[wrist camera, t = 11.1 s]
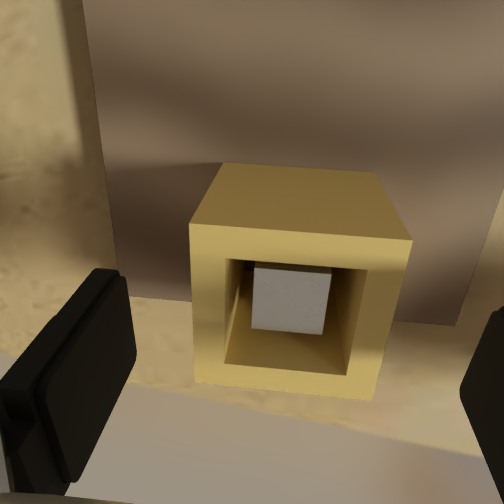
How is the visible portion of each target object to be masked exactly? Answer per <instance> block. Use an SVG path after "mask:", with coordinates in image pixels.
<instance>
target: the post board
mask: <svg viewBox="0 0 504 504" xmlns="http://www.w3.org/2000/svg"><path fill="white" fill-rule="evenodd" d="M82 2H83V10H84V17H85V24H86V32H87V39H88V47H89V54H90V62H91V69H92V77H93V84H94V92H95V99H96V106H97V114H98V121H99V129H100V136H101V144H102V151H103V159H104V166H105V173H106V181H107V188H108V196H109V203H110V211H111V218H112V226H113V233H114V241H115V248H116V255H117V263H118V270H119V273H120V276H124V277H125V278H126V281H127V287H128V294H129V296H133V297H143V298H154V299H165V300H176V301H187V302H192V291H191V264H190V238H189V222H190V221H191V219H192V217H193V215H194V214H195V212H196V210H197V208H198V207H199V205H200V203H201V201H202V199H203V198H204V196H205V194H206V192H207V191H208V189H209V187H210V185H211V184H212V182H213V180H214V178H215V177H216V175H217V173H218V171H219V169H220V168H221V166H222V164H223V162H225V163H240V164H255V165H270V166H285V167H300V168H315V169H330V170H345V171H360V172H375V174H376V176H377V178H378V179H379V181H380V183H381V185H382V187H383V188H384V190H385V192H386V194H387V195H388V197H389V199H390V201H391V202H392V204H393V206H394V208H395V210H396V211H397V213H398V215H399V217H400V218H401V220H402V222H403V224H404V226H405V227H406V229H407V231H408V233H409V234H410V236H411V238H412V240H413V243H412V246H411V250H410V254H409V258H408V262H407V266H406V270H405V274H404V278H403V282H402V285H401V289H400V293H399V297H398V301H397V305H396V309H395V313H394V317H393V320H394V321H405V322H416V323H427V324H438V325H449V326H455V324H456V321H457V318H458V315H459V313H460V310H461V307H462V304H463V301H464V298H465V296H466V293H467V290H468V287H469V284H470V282H471V279H472V276H473V273H474V270H475V267H476V265H477V262H478V259H479V256H480V253H481V250H482V248H483V245H484V242H485V239H486V236H487V233H488V231H489V228H490V225H491V222H492V219H493V217H494V214H495V211H496V208H497V205H498V202H499V200H500V197H501V194H502V191H503V188H504V0H82ZM333 268H334V267H326V266H314V265H302V264H290V263H277V262H265V261H253V260H245V267H244V271H254V287H253V306H252V325H251V328H254V329H264V330H275V331H285V332H296V333H306V334H317V335H322V332H323V325H324V319H325V313H326V306H327V300H328V294H329V288H330V281H331V278H332V275H333Z"/></svg>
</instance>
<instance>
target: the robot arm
mask: <svg viewBox="0 0 504 504" xmlns="http://www.w3.org/2000/svg"><path fill="white" fill-rule="evenodd" d="M136 356H137V350H136V343H135V336H134V329H133V322H132V315H131V308H130V301H129V294H128V287H127V281H126V278H125V277H124V276H120V273H119V271H118V270H112V269H101V268H95V269H94V270H93V271H92V272H91V273H90V274H89V275H88V277H87V278H86V279H85V280H84V282H83V283H82V284H81V285H80V286H79V288H78V289H77V290H76V291H75V293H74V294H73V295H72V296H71V298H70V299H69V300H68V301H67V302H66V304H65V305H64V306H63V307H62V309H61V310H60V311H59V312H58V313H57V315H55V316H54V317H53V318H52V319H50V321H49V322H48V323H47V324H46V325H45V327H44V328H43V329H42V330H41V331H40V333H39V334H38V335H37V336H36V338H35V339H34V340H33V341H32V342H31V344H30V345H29V346H28V347H27V348H26V350H25V351H24V352H23V353H22V355H21V356H20V357H19V358H18V359H17V361H16V362H15V363H14V364H13V365H12V367H11V368H10V369H9V370H8V372H7V373H6V374H5V375H4V376H3V378H2V379H1V380H0V504H132V503H124V502H115V501H106V500H96V499H87V498H78V497H69V496H64V495H65V493H66V491H67V489H68V487H69V485H70V483H71V482H73V483H75V482H77V481H78V480H79V478H80V477H81V475H82V472H83V471H84V468H85V466H86V464H87V462H88V460H89V458H90V456H91V454H92V452H93V450H94V448H95V446H96V443H97V441H98V439H99V437H100V435H101V433H102V431H103V429H104V427H105V424H106V422H107V420H108V418H109V416H110V414H111V412H112V410H113V408H114V406H115V404H116V402H117V399H118V397H119V395H120V393H121V391H122V389H123V387H124V385H125V383H126V381H127V379H128V377H129V375H130V372H131V370H132V368H133V366H134V364H135V361H136ZM460 399H461V402H462V404H463V407H464V409H465V412H466V414H467V416H468V419H469V421H470V424H471V426H472V429H473V431H474V433H475V436H476V438H477V441H478V443H479V446H480V448H481V450H482V453H483V455H484V458H485V460H486V463H487V465H488V467H489V470H490V472H491V475H492V477H493V480H494V482H495V484H496V487H497V489H498V492H499V494H500V497H501V499H502V502H503V504H504V306H503V307H501V308H500V309H499V311H494V312H493V313H492V314H491V316H490V318H489V320H488V323H487V325H486V327H485V330H484V332H483V334H482V337H481V339H480V341H479V344H478V346H477V348H476V350H475V353H474V355H473V357H472V360H471V362H470V364H469V367H468V369H467V371H466V374H465V376H464V378H463V380H462V383H461V385H460Z"/></svg>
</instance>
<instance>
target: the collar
mask: <svg viewBox="0 0 504 504" xmlns="http://www.w3.org/2000/svg"><path fill="white" fill-rule="evenodd" d="M189 238H190V264H191V291H192V317H193V344H194V370H195V383H205V384H214V385H224V386H234V387H244V388H253V389H263V390H273V391H282V392H292V393H302V394H312V395H321V396H331V397H341V398H350V399H360V400H370V401H372V398H373V395H374V391H375V387H376V383H377V379H378V375H379V371H380V367H381V363H382V360H383V356H384V352H385V348H386V344H387V340H388V336H389V332H390V328H391V324H392V321H393V317H394V313H395V309H396V305H397V301H398V297H399V293H400V289H401V285H402V282H403V278H404V274H405V270H406V266H407V262H408V258H409V254H410V250H411V246H412V243H413V240H412V238H411V236H410V234H409V233H408V231H407V229H406V227H405V226H404V224H403V222H402V220H401V218H400V217H399V215H398V213H397V211H396V210H395V208H394V206H393V204H392V202H391V201H390V199H389V197H388V195H387V194H386V192H385V190H384V188H383V187H382V185H381V183H380V181H379V179H378V178H377V176H376V174H375V172H360V171H345V170H330V169H315V168H300V167H285V166H270V165H255V164H240V163H225V162H223V164H222V166H221V168H220V169H219V171H218V173H217V175H216V177H215V178H214V180H213V182H212V184H211V185H210V187H209V189H208V191H207V192H206V194H205V196H204V198H203V199H202V201H201V203H200V205H199V207H198V208H197V210H196V212H195V214H194V215H193V217H192V219H191V221H190V222H189ZM245 260H253V261H265V262H277V263H290V264H302V265H314V266H326V267H334V268H333V275H332V278H331V281H330V288H329V294H328V300H327V306H326V313H325V319H324V325H323V332H322V335H317V334H306V333H296V332H285V331H275V330H264V329H254V328H251V325H252V306H253V287H254V271H244V267H245Z"/></svg>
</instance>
